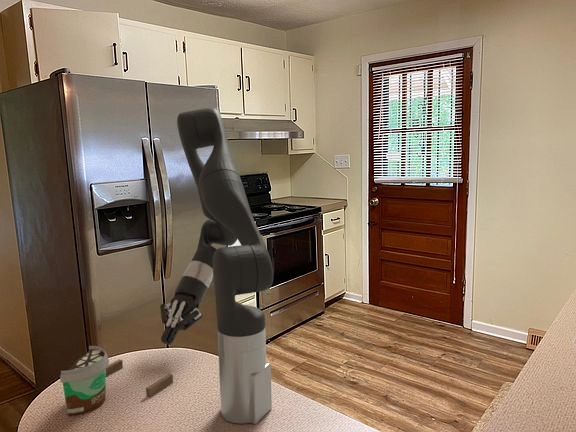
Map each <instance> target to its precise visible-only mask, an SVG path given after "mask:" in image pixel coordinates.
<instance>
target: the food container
mask: <svg viewBox="0 0 576 432" xmlns="http://www.w3.org/2000/svg"><path fill="white" fill-rule="evenodd" d="M109 364H110V359H109V356H108V353H107V351H106V350H105V349H104V348H102V347H101V346H96V345H89V347H88V351H87V352H86V354H84V355H83V356H80V358H78V359H76V361H74V362H73V364H72V366H70V367H69V369H67V370H60V378H59V379H60V381H59V382H60V383H62V386H63V394H64V398H65V399H64V401H65V407H66V411H67V417H69V418H70V417H79V416H83V415H87V414H89V413H92V412H94V411H96V410H97V409H99V408H100V407H102V406H103V404H105V402H106V400H107V399H106V398H107V396H106V395H107V394H106V391H107V386H106V385H107V384H106V383H107V382H106V381H107V377H106V367H107V366H108V365H109Z"/></svg>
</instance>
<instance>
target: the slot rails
mask: <svg viewBox="0 0 576 432" xmlns="http://www.w3.org/2000/svg"><path fill="white" fill-rule="evenodd" d="M122 369H124V365H123V360H122V359H118V360H115V361H114V362H112V363H109V364H108V366H107V367H106V378H107V377H109V376H111V375H112V374H114V373H116V372H119V371H120V370H122ZM173 383H174V375H173V374H172V373H167V374H166V375H164V376H163V377H161V378H159V379H158V380H157V381H155V382H153V383H152V384H150V385H148V386H146V388H145V394H146V395H145V396H146V398H148V399H151V398H152V397H154V396H155V395H157V394H159V393H160V392H162V390H163V391H164V389H166V388H168V387H170V385H173Z"/></svg>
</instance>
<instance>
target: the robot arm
mask: <svg viewBox="0 0 576 432" xmlns="http://www.w3.org/2000/svg"><path fill="white" fill-rule="evenodd" d="M176 124H177V125H176V126H177V130H178V135H179V139H180V142H181V146H182V149H183V152H184V155H185V158H186V161H187V164H188V167H189V169H190V172H191V174H192V177H193V180H194V183H195V186H196V189H197V191H198V196H199V201H200V205H201V209H202V210H201V211H202V213H203V215H204V216H205V217H206V218H207V220H205V221H204V222H203V224H202V226H201V229H200V233H199V234H200V235H199V239H198V245H197V247H196V248H197V249H196V251H195V253H194V255H193V256H192V259H191V261H190V262H189V264H188V265H187V267H186V269H184V272H183V274H182V276H181V278H180V280H179V281H178V283H177V286H176V288H175V290H174V296H173V297H172V298H171V299H170V301H169V303H166V304H165V303H162V304H161V303H160V306H159V307H160V314H161V315H160V317H161V323H163V324H164V326H165V328H164V331H163V333H162V335H161V338H160V342H161V343H162V344H164V345H167V346H170V345H171V344H172V343H173V342H174V340H175V338H176V336H177V334H178V332H180V331H181V330H182V331H186V330H187V329H189V328H190V327H191V326H193V325H195V323H197V322H198V321H199V320H201V319H202V318H203V314H202V313H201V312H200V310H199V309H200V304H201V303H202V302H203V300H204V298H205V296H206V294H207V291H208V289H209V288H210V285H211V283H212V280H213V284H214V285H213V286H214V295H215V297H214V298H215V309H216V310H215V311H216V321H217V323H216V325H217V344H218V345H217V347H218V348H217V350H218V351H217V352H218V370H219V394H220V412H221V413H220V414H221V417H222V418H223V419H225V420H226V421H227V422H230V423H233V424H254V425H256V424H257V423H259V421H261V420H262V419H263V418H264V417H265V416H266V415H267V414H268V413H269V411H271V409H272V408H273V407H272V405H273V403H272V402H273V401H272V370H271V369H272V366H271V365H272V364H271V363H270V362H267V344H266V343H267V341H266V338H267V337H266V333H267V332H266V314H265V313H264V311H263V310H261V309H260V308H258V307H256V306H253V305H248V304H244V303H240V302H238V301H236V296H240V295H241V296H242V295H246V294H254V293H261V292H265V291H267V290H269V289H270V288H271V287H272V285H273V282H274V268H273V263H272V258H271V256H270V253H269V250H268V248H267V246H266V243H265V241H264V239H263V237H262V235H261V232H260V230H259V228H258V226H257V223H256V222H255V218H254V217H253V214H252V210H251V207H250V204H249V201H248V198H247V194H246V191H245V188H244V185H243V181H242V179H241V178H242V177H241V176H240V173H239V171H238V169H237V166H236V163H235V162H236V161H235V160H234V157H233V154H232V151H231V147H230V144H229V140H228V136H227V130H226V127H225V124H224V120H223V118H222V115H221V112H220V111H219V110H218V109H217V108H215V107H204V108H200V109H194V110H189V111H184V112H181V113H179V114H178V115H177V118H176ZM208 147H213V148H212V149H211V153H210V155H209V157H208V158H207V159H206V162H205V163H204V161H203V160H202V159H201V158H200V155H199V154H198V151H197V149H203V148H208ZM237 240H238V241H237ZM237 242H239V244H240V245H234V244H235V243H237ZM213 244H216V245H222V246H224V247H219V248H216V247H214V246H212V245H213ZM233 245H234V246H233Z"/></svg>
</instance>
